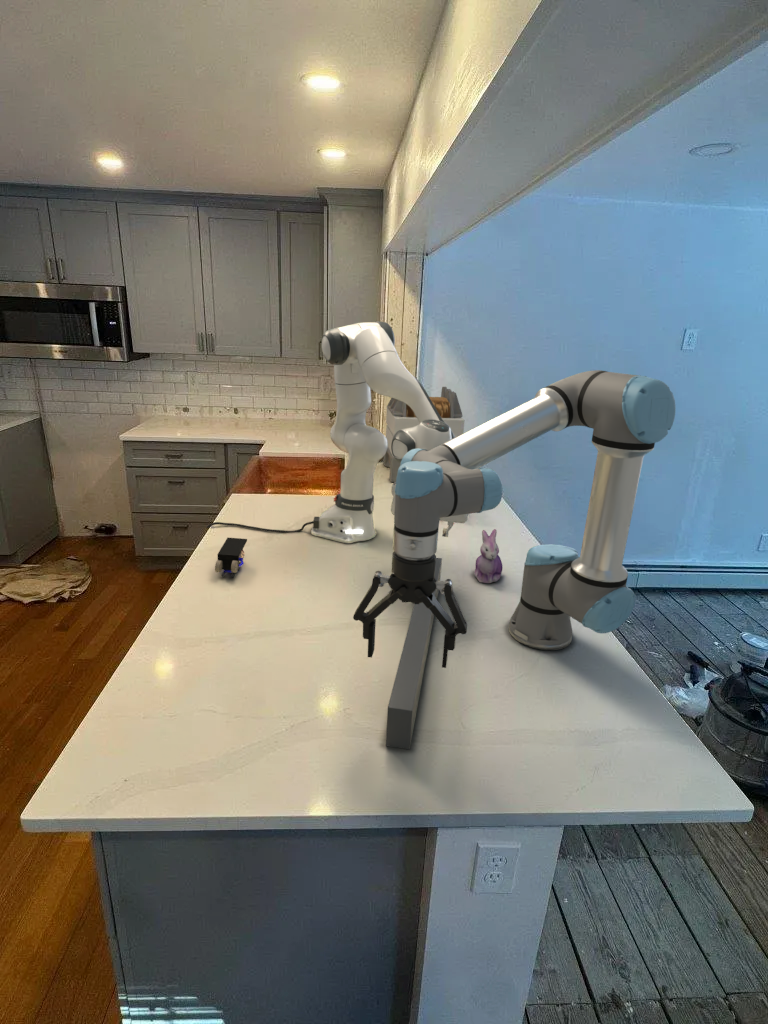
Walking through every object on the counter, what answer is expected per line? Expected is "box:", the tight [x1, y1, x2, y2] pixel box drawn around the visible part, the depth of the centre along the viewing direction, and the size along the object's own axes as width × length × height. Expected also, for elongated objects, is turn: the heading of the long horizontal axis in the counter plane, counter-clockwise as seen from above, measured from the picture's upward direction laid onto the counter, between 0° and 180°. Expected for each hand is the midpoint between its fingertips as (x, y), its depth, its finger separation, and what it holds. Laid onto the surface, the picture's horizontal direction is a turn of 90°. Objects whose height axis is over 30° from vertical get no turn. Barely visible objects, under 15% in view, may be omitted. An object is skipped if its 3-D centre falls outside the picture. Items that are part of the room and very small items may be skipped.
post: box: [385, 557, 443, 750], centre depth 132 cm, size 67×4×8 cm, turn 170°
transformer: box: [383, 386, 465, 483], centre depth 268 cm, size 34×33×41 cm
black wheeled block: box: [214, 537, 248, 578], centre depth 166 cm, size 7×8×15 cm
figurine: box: [474, 528, 503, 584], centre depth 167 cm, size 9×10×15 cm
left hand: (427, 533), depth 151 cm, fingers open, 8 cm apart
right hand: (407, 658), depth 104 cm, fingers open, 13 cm apart
